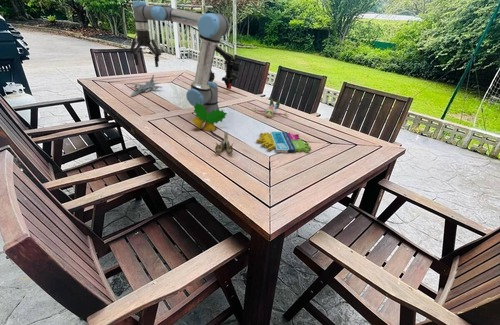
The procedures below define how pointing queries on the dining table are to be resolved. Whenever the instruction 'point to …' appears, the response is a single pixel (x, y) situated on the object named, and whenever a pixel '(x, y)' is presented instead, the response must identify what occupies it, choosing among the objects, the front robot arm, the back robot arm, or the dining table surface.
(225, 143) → the jawbone
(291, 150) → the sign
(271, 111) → the toy
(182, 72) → the dining table surface
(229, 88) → the canister
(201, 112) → the ornament
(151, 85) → the airplane
